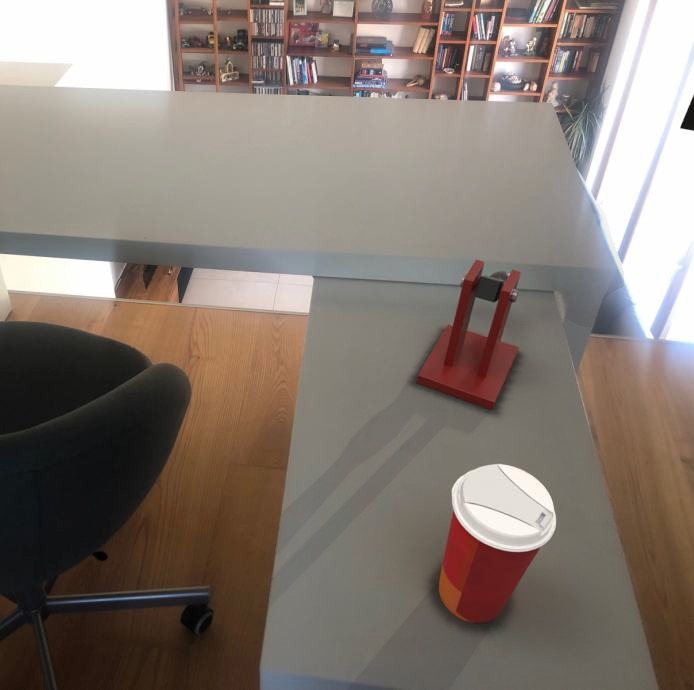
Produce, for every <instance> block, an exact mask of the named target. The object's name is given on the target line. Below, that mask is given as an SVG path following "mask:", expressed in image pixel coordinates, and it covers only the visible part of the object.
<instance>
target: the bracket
mask: <svg viewBox="0 0 694 690" xmlns="http://www.w3.org/2000/svg"><path fill="white" fill-rule="evenodd" d="M484 266H485V261H483V260H479V259H475V260H474V262H473V263H472V265H471V266H470V269H469V270H468V272H467V273H466V274H463V276H462V278H461V282H460V284H459V285H460V288H461V289H460V294H459V298H458V302H457V307H456V311H455V315H454V318H453V323H452V324H447V325H446V326H445V329H444V330H443V332H442V334H441V335H440V336H439V339H438V340H437V342H436V344H435V345H434V347H433V349H432V351H431V352H430V354H429V355H428V358H427V359H426V360H425V362H424V364H423V365H422V367H421V369H420V371H419V373H418V374H417V376H416V377H417V378H416V384H418V385H421V386H425V387H427V388H430V389H433V390H434V391H435V390H436V391H438V392H442V393H443V394H446V395H450V396H451V397H455V398H458V399H461V400H463V401H466V402H469V403H471V404H475V405H477V406H479V407H482V408H485V409H488V410H491V411H492V410H493V409H494V407H495V405H496V403H497V400H498V398H499V395H500V394H501V391H502V389H503V387H504V384H505V382H506V380H507V378H508V375H509V373H510V371H511V369H512V367H513V364H514V362H515V359H516V358H517V356H518V353H519V350H520V347H519V346H517V345H513V344H511V343H507V342H504V341H502V338H503V334H504V331H505V327H506V324H507V321H508V319H509V314H510V311H511V307H512V305H513V304H514V303H516V301H517V299H518V296H519V293H520V290H518V289H517V288H518V284H519V281H520V279H521V274H522V271H519V270H517V269H511V270H510V272H509V273H510V274H509V276H508V278H507V280H506V282H505V284H504V286H503V288H502V289H501V293H500V296H499V300H497V303H496V307H495V310H494V313H493V317H492V321H491V325H490V328H489V332H488V334H487V336H486V335H482V334H479V333H477V332H473V331H470V330H468V328H469V324H470V321H471V316H472V313H473V309H474V305H475V302H476V301H475V300H476V298H477V297H474V295H475V292H476V289H477V286H478V283H479V280H480V277H481V276H482V275H483V270H484Z"/></svg>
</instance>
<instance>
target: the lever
mask: <svg viewBox="0 0 694 690" xmlns="http://www.w3.org/2000/svg"><path fill="white" fill-rule="evenodd" d="M509 274H510V272H508V271H504V270H498V271H495V272H493V273H492V274H491V275H481V277H480V280H479V283H478V286H477V289H476V292H475V295H474V297H476V298H477V299H481V300H483V301H487V302H491V303H496V302H498V300H499V296H500V293H501V289H502V288H503V286H504V284H505V282H506V280H507V278H508V276H509Z"/></svg>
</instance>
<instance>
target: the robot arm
mask: <svg viewBox="0 0 694 690" xmlns="http://www.w3.org/2000/svg"><path fill="white" fill-rule="evenodd" d="M679 129H681V130H687V131H693V132H694V94H693V95H692V98H691V100H690V102H689V105H688V107H687V110H686V111H685V114H684V117H683V119H682V121H681V124H680V127H679Z"/></svg>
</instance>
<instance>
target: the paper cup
mask: <svg viewBox="0 0 694 690" xmlns="http://www.w3.org/2000/svg"><path fill="white" fill-rule="evenodd" d="M451 504H452V509H453V510H452V515H451V520H450V526H449V529H448V535H447V539H446V544H445V548H444V554H443V559H442V564H441V570H440V574H439V581H438V592H439V596H440V599H441V601H442V603H443V605H444V606H445V608H446V609H447V610H448V612H450V613H451V614H453V616H455V617H457V618H458V619H460V620H462V621H465V622H467V623H473V624H484V623H487V622H490V621H493V620H494V619H495V618H496V617H498V615H500V613H501V612H502V610H503V609H504V608H505V606H506V605H507V603H508V601H509V599H510V598H511V596H512V595H513V593H514V592H515V590H516V588H517V586H518V585H519V584H520V582H521V580H522V579H523V577H524V575H525V573H526V571H527V570H528V568H529V567H530V565H531V563H532V562H533V560H534V558H535V557H536V556H537V554H538V553H539V551H540V549H541V547H543V546H544V545H545V544H547V543H548V542H549V541H550V540H551V538H552V537H553V535H554V533H555V531H556V527H557V517H556V511H555V506H554V502H553V500H552V497H551V495H550V493H549V491H548V489H547V488H546V487H545V486H544V485H543V483H542V482H541V481H539V480H538V478H536V477H534V476H533V475H532V474H530V473H529V472H527V471H525V470H523V469H521V468H518V467H516V466H513V465H508V464H503V463H495V464H487V465H482V466H480V467H477V468H474V469H471V470H469V471H467V472H466V473H464V474H463V475H461V476H460V477H458V479H457V480H456V482H455V483H454V484H453V486H452V488H451Z"/></svg>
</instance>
